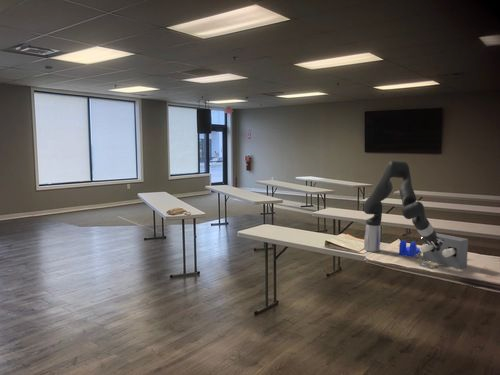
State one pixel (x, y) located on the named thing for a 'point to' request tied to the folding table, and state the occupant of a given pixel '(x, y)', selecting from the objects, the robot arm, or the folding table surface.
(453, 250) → the near button
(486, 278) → the folding table surface
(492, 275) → the folding table surface
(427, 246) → the far button
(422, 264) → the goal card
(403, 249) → the bracket
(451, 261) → the grey button panel
